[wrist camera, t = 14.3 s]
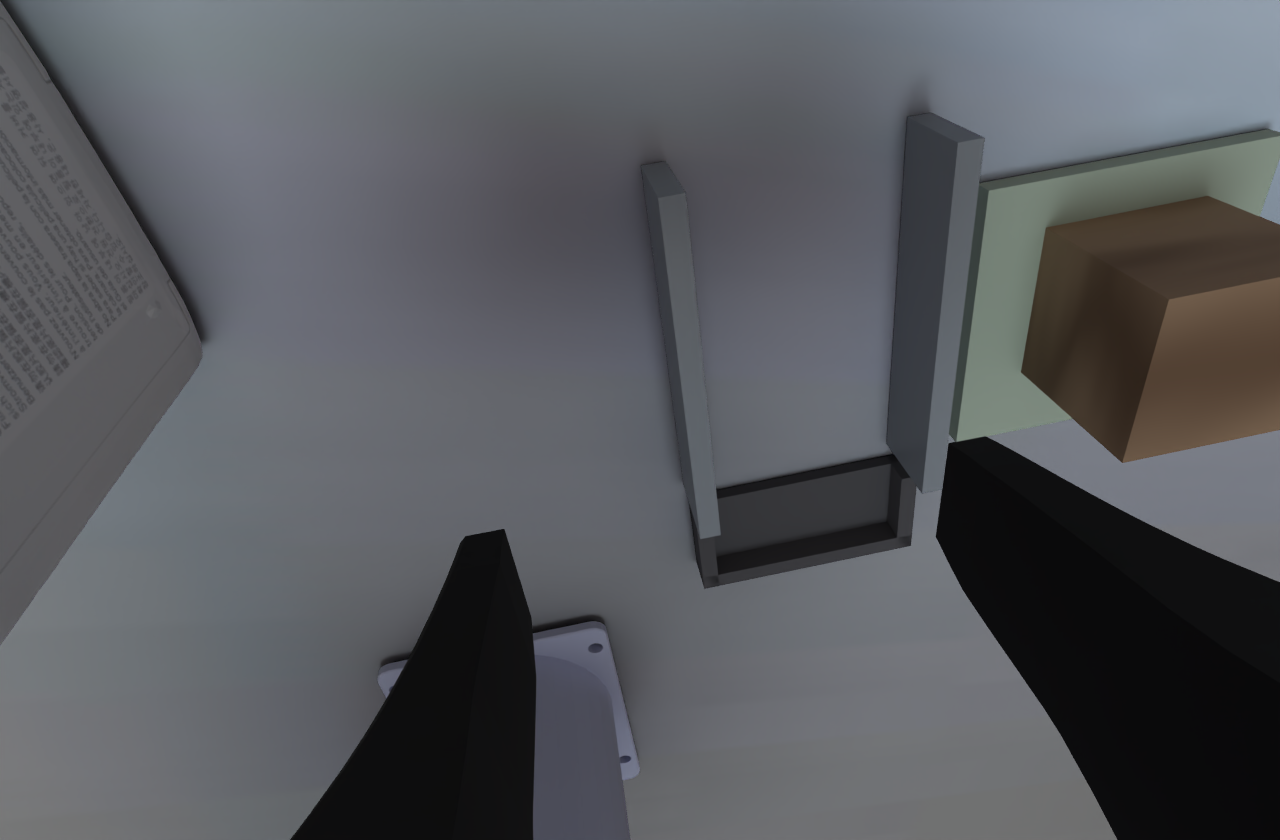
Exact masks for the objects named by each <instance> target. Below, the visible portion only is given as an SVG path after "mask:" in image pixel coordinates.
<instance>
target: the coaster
mask: <svg viewBox="0 0 1280 840" xmlns="http://www.w3.org/2000/svg"><path fill="white" fill-rule="evenodd" d="M1279 158H1280V132H1277V131H1273V130H1270V129H1266V130H1261V131H1256V132H1250V133H1245V134H1239V135H1234V136H1229V137H1223V138H1218V139H1213V140H1207V141H1202V142H1197V143H1191V144H1186V145H1181V146H1175V147H1170V148H1165V149H1159V150H1154V151H1149V152H1143V153H1138V154H1133V155H1127V156H1122V157H1117V158H1111V159H1106V160H1101V161H1095V162H1090V163H1085V164H1079V165H1074V166H1069V167H1063V168H1058V169H1053V170H1047V171H1042V172H1037V173H1031V174H1026V175H1021V176H1015V177H1010V178H1005V179H999V180H994V181H989V182H983V183H979V189H978V197H977V206H976V214H975V222H974V230H973V238H972V247H971V255H970V263H969V271H968V280H967V288H966V296H965V304H964V313H963V321H962V329H961V337H960V345H959V354H958V362H957V370H956V378H955V387H954V395H953V403H952V411H951V419H950V428H949V435H950V436H951V437H952V438H953V439H954V440H955V442H958V441H963V440H968V439H973V438H979V437H984V436H991V435H996V434H1001V433H1006V432H1011V431H1016V430H1021V429H1026V428H1031V427H1036V426H1041V425H1045V424H1050V423H1055V422H1060V421H1065V420H1070V419H1073V418H1071V417H1070V416H1069V415H1068V414H1067V413H1066V412H1065V411H1064V410H1062V409H1061V408H1060V407H1059V406H1058V405H1057V404H1056V403H1055V402H1054V401H1052V400H1051V399H1050V398H1049V397H1048V396H1047V395H1046V394H1045V393H1043V392H1042V391H1041V390H1040V389H1039V388H1038V387H1037V386H1036V385H1034V384H1033V383H1032V382H1031V381H1030V380H1029V379H1028V378H1027V377H1025V376H1024V375H1023V374H1022V373H1021V368H1022V363H1023V357H1024V351H1025V345H1026V340H1027V334H1028V328H1029V322H1030V316H1031V311H1032V305H1033V299H1034V293H1035V287H1036V282H1037V276H1038V270H1039V264H1040V258H1041V253H1042V247H1043V241H1044V235H1045V229H1046V228H1047V227H1052V226H1057V225H1062V224H1067V223H1072V222H1077V221H1082V220H1087V219H1092V218H1097V217H1103V216H1108V215H1113V214H1118V213H1123V212H1128V211H1133V210H1138V209H1143V208H1148V207H1153V206H1159V205H1164V204H1169V203H1174V202H1179V201H1184V200H1189V199H1194V198H1199V197H1204V196H1210V197H1212V198H1215V199H1217V200H1220V201H1222V202H1225V203H1227V204H1230V205H1232V206H1235V207H1237V208H1240V209H1242V210H1244V211H1247V212H1249V213H1252V214H1254V215H1257V216H1259V217H1260V214H1261V211H1262V208H1263V205H1264V202H1265V199H1266V196H1267V193H1268V191H1269V188H1270V185H1271V182H1272V179H1273V176H1274V173H1275V170H1276V167H1277V164H1278V161H1279Z"/></svg>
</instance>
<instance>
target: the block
mask: <svg viewBox="0 0 1280 840" xmlns="http://www.w3.org/2000/svg"><path fill="white" fill-rule="evenodd" d="M1021 373H1022V374H1023V375H1024V376H1025V377H1027V378H1028V379H1029V380H1030V381H1031V382H1032V383H1033V384H1034V385H1036V386H1037V387H1038V388H1039V389H1040V390H1041V391H1042V392H1043V393H1045V394H1046V395H1047V396H1048V397H1049V398H1050V399H1051V400H1052V401H1054V402H1055V403H1056V404H1057V405H1058V406H1059V407H1060V408H1061V409H1062V410H1064V411H1065V412H1066V413H1067V414H1068V415H1069V416H1070V417H1071V418H1073V419H1074V420H1075V421H1076V422H1077V423H1078V424H1079V425H1080V426H1082V427H1083V428H1084V429H1085V430H1086V431H1087V432H1088V433H1089V434H1090V435H1092V436H1093V437H1094V438H1095V439H1096V440H1097V441H1098V442H1099V443H1101V444H1102V445H1103V446H1104V447H1105V448H1106V449H1107V450H1108V451H1110V452H1111V453H1112V454H1113V455H1114V456H1115V457H1116V458H1117V459H1118V460H1120V461H1121V462H1122V463H1124V462H1129V461H1134V460H1139V459H1143V458H1148V457H1153V456H1158V455H1162V454H1167V453H1172V452H1177V451H1181V450H1186V449H1191V448H1196V447H1200V446H1205V445H1210V444H1215V443H1219V442H1224V441H1229V440H1234V439H1238V438H1243V437H1248V436H1253V435H1257V434H1262V433H1267V432H1272V431H1276V430H1280V225H1279V224H1277V223H1274V222H1272V221H1269V220H1267V219H1264V218H1262V217H1259V216H1257V215H1254V214H1252V213H1249V212H1247V211H1244V210H1242V209H1240V208H1237V207H1235V206H1232V205H1230V204H1227V203H1225V202H1222V201H1220V200H1217V199H1215V198H1212V197H1210V196H1204V197H1199V198H1194V199H1189V200H1184V201H1179V202H1174V203H1169V204H1164V205H1159V206H1153V207H1148V208H1143V209H1138V210H1133V211H1128V212H1123V213H1118V214H1113V215H1108V216H1103V217H1097V218H1092V219H1087V220H1082V221H1077V222H1072V223H1067V224H1062V225H1057V226H1052V227H1047V228H1046V229H1045V235H1044V241H1043V247H1042V253H1041V258H1040V264H1039V270H1038V276H1037V282H1036V287H1035V293H1034V299H1033V305H1032V311H1031V316H1030V322H1029V328H1028V334H1027V340H1026V345H1025V351H1024V357H1023V363H1022V368H1021Z"/></svg>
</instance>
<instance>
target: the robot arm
mask: <svg viewBox="0 0 1280 840" xmlns="http://www.w3.org/2000/svg"><path fill="white" fill-rule="evenodd" d="M936 538H937V540H938V542H939V544H940V546H941V548H942V550H943V552H944V554H945V556H946V558H947V560H948V562H949V564H950V566H951V568H952V570H953V572H954V574H955V576H956V578H957V580H958V582H959V584H960V585H961V587H962V589H963V591H964V592H965V594H966V596H967V597H968V599H969V600H970V602H971V603H972V605H973V606H974V608H975V609H976V610H977V612H978V613H979V615H980V616H981V618H982V619H983V621H984V622H985V624H986V625H987V627H988V628H989V630H990V631H991V633H992V634H993V635H994V637H995V638H996V640H997V641H998V643H999V644H1000V645H1001V647H1002V648H1003V650H1004V651H1005V653H1006V654H1007V656H1008V657H1009V658H1010V660H1011V661H1012V663H1013V664H1014V666H1015V667H1016V669H1017V670H1018V671H1019V673H1020V674H1021V676H1022V677H1023V679H1024V680H1025V682H1026V683H1027V684H1028V686H1029V687H1030V689H1031V690H1032V692H1033V693H1034V695H1035V696H1036V697H1037V699H1038V700H1039V702H1040V703H1041V705H1042V706H1043V708H1044V709H1045V711H1046V712H1047V714H1048V715H1049V717H1050V719H1051V720H1052V722H1053V723H1054V725H1055V726H1056V728H1057V730H1058V731H1059V733H1060V734H1061V736H1062V738H1063V740H1064V741H1065V743H1066V745H1067V747H1068V749H1069V750H1070V752H1071V754H1072V756H1073V758H1074V759H1075V761H1076V763H1077V765H1078V767H1079V768H1080V770H1081V772H1082V774H1083V776H1084V777H1085V779H1086V781H1087V783H1088V785H1089V786H1090V788H1091V790H1092V792H1093V794H1094V796H1095V797H1096V799H1097V801H1098V803H1099V805H1100V807H1101V809H1102V811H1103V813H1104V815H1105V817H1106V819H1107V820H1108V822H1109V824H1110V826H1111V828H1112V830H1113V832H1114V834H1115V836H1116V838H1117V840H1280V582H1278V581H1275V580H1273V579H1270V578H1268V577H1265V576H1263V575H1261V574H1258V573H1256V572H1253V571H1251V570H1248V569H1246V568H1244V567H1241V566H1239V565H1236V564H1234V563H1231V562H1229V561H1227V560H1224V559H1222V558H1220V557H1217V556H1215V555H1213V554H1211V553H1208V552H1206V551H1204V550H1202V549H1199V548H1197V547H1195V546H1193V545H1191V544H1189V543H1187V542H1184V541H1182V540H1180V539H1178V538H1176V537H1174V536H1172V535H1170V534H1168V533H1166V532H1164V531H1162V530H1160V529H1157V528H1155V527H1153V526H1151V525H1149V524H1147V523H1145V522H1143V521H1141V520H1139V519H1137V518H1135V517H1133V516H1132V515H1130V514H1128V513H1126V512H1124V511H1122V510H1120V509H1118V508H1116V507H1114V506H1112V505H1110V504H1109V503H1107V502H1105V501H1103V500H1101V499H1099V498H1097V497H1096V496H1094V495H1092V494H1090V493H1088V492H1086V491H1084V490H1083V489H1081V488H1079V487H1077V486H1075V485H1074V484H1072V483H1070V482H1068V481H1066V480H1065V479H1063V478H1061V477H1059V476H1057V475H1056V474H1054V473H1052V472H1050V471H1048V470H1047V469H1045V468H1043V467H1041V466H1040V465H1038V464H1036V463H1034V462H1032V461H1031V460H1029V459H1027V458H1025V457H1023V456H1022V455H1020V454H1018V453H1016V452H1014V451H1013V450H1011V449H1009V448H1007V447H1005V446H1003V445H1001V444H1000V443H998V442H996V441H994V440H992V439H990V438H988V437H986V436H984V437H979V438H973V439H968V440H963V441H958V442H953V443H949V444H948V452H947V459H946V466H945V474H944V481H943V488H942V496H941V503H940V510H939V517H938V525H937V532H936ZM594 643H597V644H594ZM377 681H378V684H379V686H380V688H381V690H382V691H383V693H384V695H385V697H386V700H385V702H384V704H383V706H382V707H381V709H380V711H379V712H378V714H377V716H376V717H375V719H374V720H373V722H372V724H371V725H370V727H369V729H368V730H367V732H366V733H365V735H364V737H363V738H362V740H361V741H360V743H359V744H358V746H357V747H356V749H355V750H354V752H353V753H352V755H351V756H350V758H349V759H348V761H347V762H346V764H345V766H344V767H343V768H342V770H341V771H340V773H339V774H338V776H337V777H336V778H335V780H334V781H333V783H332V784H331V785H330V787H329V788H328V789H327V791H326V792H325V794H324V795H323V796H322V798H321V799H320V801H319V802H318V803H317V805H316V806H315V808H314V809H313V810H312V812H311V813H310V814H309V816H308V817H307V818H306V820H305V821H304V822H303V824H302V825H301V826H300V828H299V829H298V830H297V832H296V833H295V834H294V835H293V837H292V838H291V839H290V840H630V833H629V825H628V818H627V810H626V803H625V796H624V788H623V781H622V780H627V779H631V778H634V777H635V776H637V775H638V774H639V772H640V765H639V760H638V756H637V752H636V748H635V744H634V740H633V736H632V732H631V728H630V723H629V719H628V715H627V711H626V707H625V703H624V699H623V695H622V691H621V687H620V683H619V679H618V674H617V670H616V666H615V662H614V658H613V654H612V650H611V646H610V642H609V638H608V634H607V629H606V627H605V625H604V624H602V623H601V622H596V621H590V622H585V623H580V624H576V625H571V626H566V627H561V628H556V629H552V630H547V631H542V632H537V633H533V632H532V621H531V615H530V612H529V608H528V605H527V602H526V599H525V595H524V592H523V589H522V585H521V582H520V579H519V576H518V572H517V569H516V566H515V563H514V559H513V556H512V553H511V549H510V546H509V543H508V540H507V536H506V533H505V530H504V529H501V530H496V531H491V532H485V533H480V534H475V535H470V536H465V538H464V539H463V540H462V541H461V543H460V545H459V548H458V550H457V553H456V556H455V558H454V561H453V563H452V566H451V568H450V571H449V573H448V576H447V578H446V580H445V583H444V585H443V588H442V590H441V592H440V594H439V597H438V599H437V601H436V603H435V606H434V608H433V610H432V612H431V614H430V616H429V618H428V620H427V622H426V624H425V626H424V629H423V631H422V633H421V635H420V637H419V639H418V641H417V643H416V645H415V647H414V649H413V651H412V653H411V655H410V657H409V659H408V660H403V661H398V662H394V663H389V664H386V665H384V666H382V667H381V668H380V670H379V672H378V677H377Z"/></svg>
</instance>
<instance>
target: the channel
mask: <svg viewBox="0 0 1280 840" xmlns="http://www.w3.org/2000/svg"><path fill="white" fill-rule="evenodd" d="M984 140H985V138H984V137H982V136H980V135H978V134H976V133H973V132H971V131H969V130H967V129H965V128H963V127H961V126H959V125H956V124H954V123H952V122H950V121H948V120H946V119H944V118H942V117H939V116H937V115H935V114H933V113H927V114H921V115H916V116H910V117H907V131H906V147H905V162H904V178H903V194H902V209H901V225H900V241H899V256H898V272H897V288H896V303H895V319H894V335H893V350H892V366H891V382H890V398H889V413H888V429H887V445H888V447H889V448H890V450H891V451H892V452H893V454H894V455H895V456H896V458H897V459H898V461H899V462H900V463H901V465H902V466H903V468H904V469H905V470H906V472H907V473H908V475H909V476H910V477H911V479H912V480H913V482H914V483H915V484H916V486H917V487H918V489H919V490H920V491H921V493H922V494H923V493H928V492H932V491H937V490H942V485H943V477H944V469H945V461H946V452H947V444H948V436H949V428H950V419H951V411H952V403H953V395H954V387H955V378H956V370H957V362H958V354H959V345H960V337H961V329H962V321H963V313H964V304H965V296H966V288H967V280H968V271H969V263H970V255H971V247H972V238H973V230H974V222H975V214H976V206H977V197H978V189H979V181H980V173H981V164H982V156H983V148H984ZM641 171H642V178H643V186H644V193H645V200H646V208H647V215H648V223H649V230H650V238H651V245H652V253H653V260H654V268H655V275H656V283H657V290H658V298H659V305H660V313H661V320H662V328H663V335H664V342H665V350H666V357H667V365H668V372H669V380H670V387H671V395H672V402H673V410H674V417H675V425H676V432H677V440H678V447H679V455H680V462H681V470H682V477H683V484H684V488H685V491H686V494H687V498H688V501H689V504H690V507H691V511H692V514H693V517H694V520H695V523H696V527H697V530H698V533H699V536H700V539H704V538H709V537H713V536H718V535H721V532H720V522H719V512H718V503H717V493H716V483H715V473H714V463H713V454H712V444H711V434H710V424H709V415H708V405H707V395H706V385H705V375H704V366H703V356H702V346H701V336H700V326H699V317H698V307H697V297H696V287H695V277H694V268H693V258H692V248H691V238H690V228H689V219H688V209H687V199H686V192H685V191H684V189H683V188H682V186H681V185H680V183H679V182H678V180H677V178H676V177H675V175H674V174H673V172H672V171H671V169H670V167H669V166H668V164H667V163H666V161H663V162H658V163H653V164H647V165H642V166H641Z"/></svg>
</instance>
